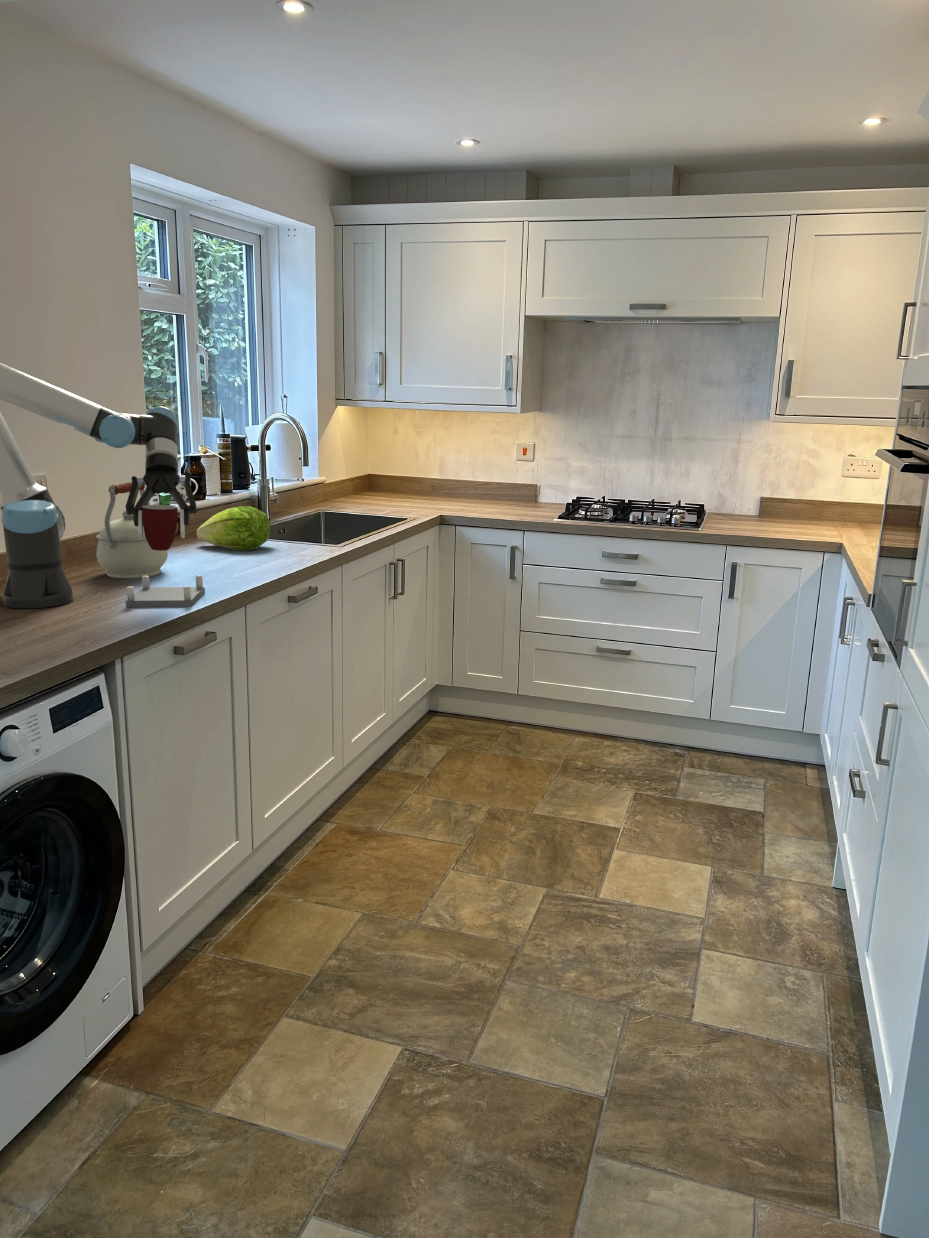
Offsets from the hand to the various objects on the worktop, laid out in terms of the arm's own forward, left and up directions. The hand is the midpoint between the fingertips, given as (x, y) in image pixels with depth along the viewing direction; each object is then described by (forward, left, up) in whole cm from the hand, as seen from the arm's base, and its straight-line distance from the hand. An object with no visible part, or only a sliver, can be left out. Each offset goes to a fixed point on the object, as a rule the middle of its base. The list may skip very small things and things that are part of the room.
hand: (161, 535), depth 217 cm
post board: (-1, +3, -16) cm, 16 cm away
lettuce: (+2, +78, -16) cm, 80 cm away
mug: (-1, +3, -4) cm, 5 cm away
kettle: (-17, +38, -16) cm, 44 cm away
